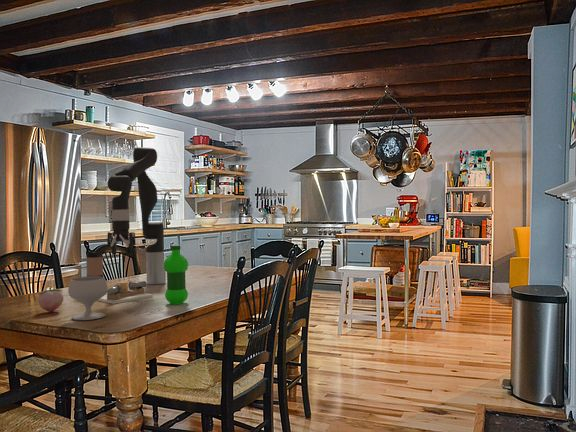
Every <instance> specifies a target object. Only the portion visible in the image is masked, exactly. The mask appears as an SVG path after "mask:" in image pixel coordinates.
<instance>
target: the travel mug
mask: <svg viewBox="0 0 576 432" xmlns="http://www.w3.org/2000/svg"><path fill="white" fill-rule="evenodd" d="M85 254H86V256H85V257H86V260H85V261H86V277H88V276H101V277H104V262H103V261H104V258H103V251H102V250H101V251H98V250H95V251H94V250H93V251H86V252H85Z"/></svg>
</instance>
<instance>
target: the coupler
mask: <svg viewBox="0 0 576 432" xmlns="http://www.w3.org/2000/svg"><path fill="white" fill-rule="evenodd" d="M116 285H121V286H122V292H121V294H124V293H128V291H129V287H128V285H129V282H128V281H118V282H116Z"/></svg>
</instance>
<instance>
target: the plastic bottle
mask: <svg viewBox="0 0 576 432" xmlns="http://www.w3.org/2000/svg"><path fill="white" fill-rule="evenodd" d="M170 250H171V253H170V255H168V256H167V257H166V258H164V269H165V272H166V285H167V287H166V290H165V294H164V297H165V299H166V301H167V302H168V303H169V304H170V305H176V306H177V305H182V304H184V302H186V300H188V297H189V292H188V290H187V288H186V284H187V283H186V271H187V270H188V268H189V262H188V259H187V258H186V257H184V256H183V255H182V254H181V253H180V251H181V244H173V245H172V244H171V245H170Z"/></svg>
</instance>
